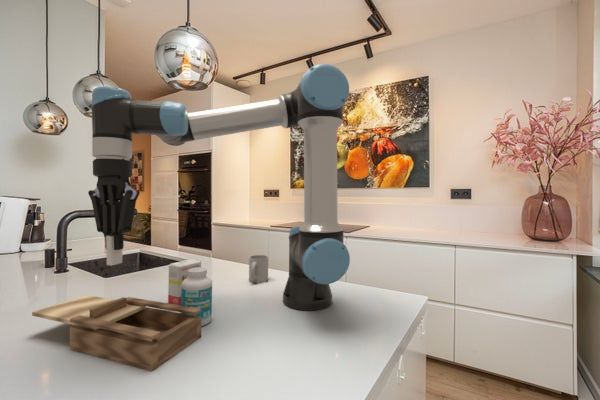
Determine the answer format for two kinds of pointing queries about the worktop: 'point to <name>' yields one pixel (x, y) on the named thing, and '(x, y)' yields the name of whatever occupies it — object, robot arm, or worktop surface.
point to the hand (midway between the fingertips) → (114, 263)
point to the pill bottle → (198, 293)
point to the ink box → (179, 279)
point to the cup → (258, 268)
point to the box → (139, 334)
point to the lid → (89, 310)
